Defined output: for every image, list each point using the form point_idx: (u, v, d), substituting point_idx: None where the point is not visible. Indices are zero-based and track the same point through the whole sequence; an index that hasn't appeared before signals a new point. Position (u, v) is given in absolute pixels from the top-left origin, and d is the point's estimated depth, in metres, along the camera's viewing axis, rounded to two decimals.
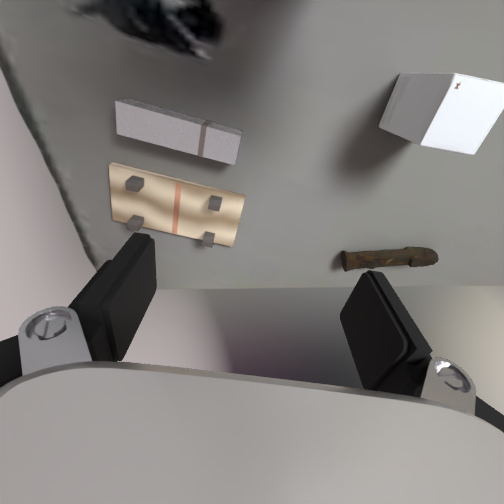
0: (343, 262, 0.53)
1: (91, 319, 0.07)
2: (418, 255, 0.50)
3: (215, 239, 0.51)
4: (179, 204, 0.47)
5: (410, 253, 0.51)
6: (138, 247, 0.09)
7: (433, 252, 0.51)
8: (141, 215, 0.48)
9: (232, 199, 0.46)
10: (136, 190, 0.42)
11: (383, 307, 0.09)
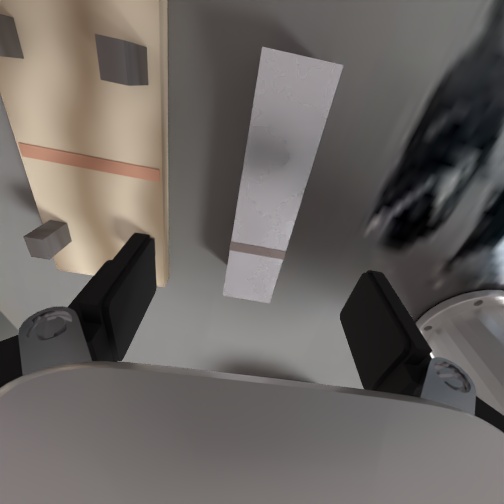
0: None
1: (91, 319, 0.07)
2: None
3: None
4: (108, 172, 0.20)
5: None
6: (138, 247, 0.09)
7: None
8: (25, 49, 0.16)
9: (157, 270, 0.25)
10: (105, 76, 0.14)
11: (383, 307, 0.09)
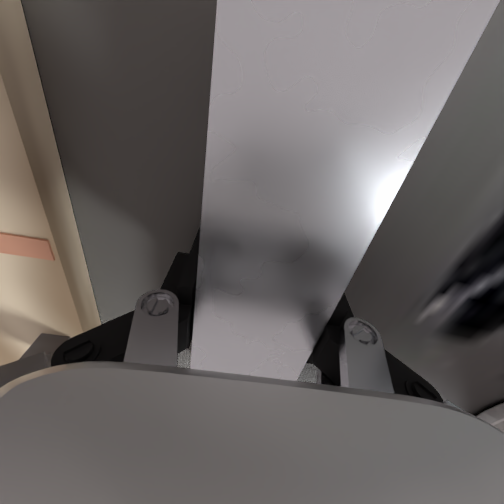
0: None
1: (184, 301, 0.08)
2: None
3: None
4: None
5: None
6: None
7: None
8: None
9: None
10: None
11: None
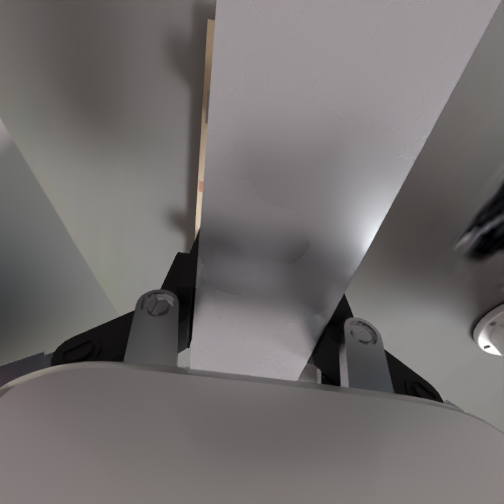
0: None
1: (184, 301, 0.08)
2: None
3: None
4: None
5: None
6: None
7: None
8: None
9: None
10: None
11: None
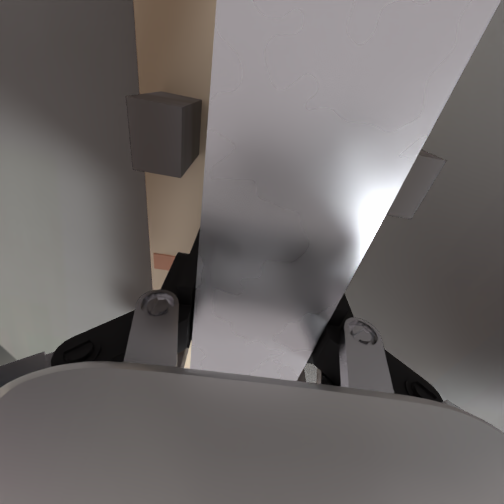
0: None
1: (184, 301, 0.08)
2: None
3: None
4: None
5: None
6: None
7: None
8: (205, 143, 0.10)
9: None
10: None
11: None
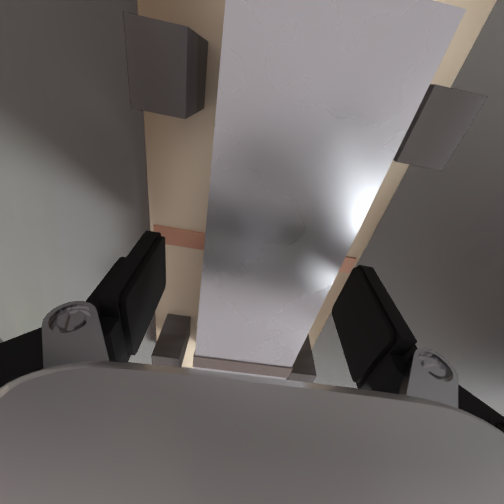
0: None
1: (109, 313, 0.07)
2: None
3: None
4: None
5: None
6: (150, 244, 0.09)
7: None
8: (210, 94, 0.09)
9: None
10: (408, 156, 0.08)
11: (371, 300, 0.09)
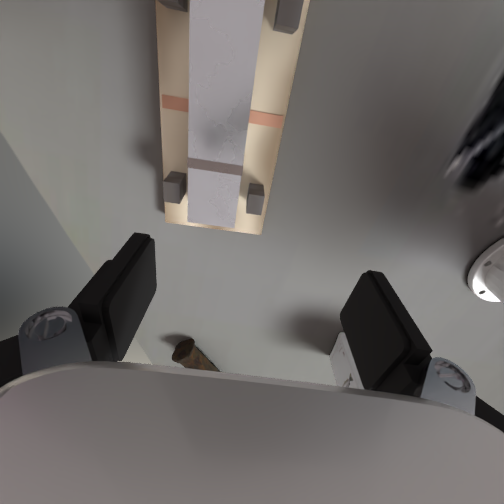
0: (181, 351, 0.42)
1: (91, 319, 0.07)
2: None
3: None
4: None
5: None
6: (138, 247, 0.09)
7: None
8: None
9: (257, 217, 0.28)
10: (281, 20, 0.17)
11: (383, 307, 0.09)
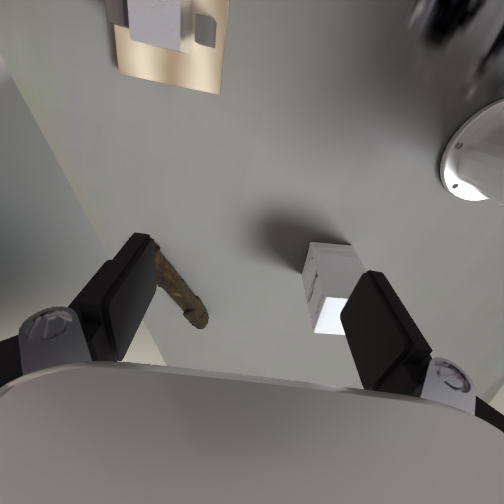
0: None
1: (91, 319, 0.07)
2: (198, 312, 0.46)
3: (123, 30, 0.25)
4: None
5: (195, 305, 0.47)
6: (138, 247, 0.09)
7: (207, 320, 0.50)
8: None
9: (214, 70, 0.27)
10: None
11: (383, 307, 0.09)
